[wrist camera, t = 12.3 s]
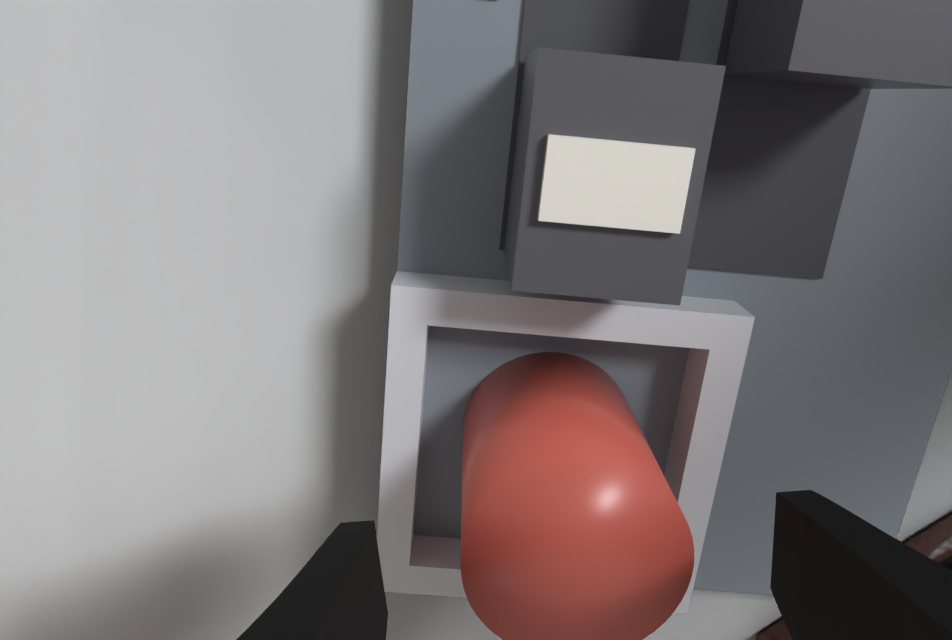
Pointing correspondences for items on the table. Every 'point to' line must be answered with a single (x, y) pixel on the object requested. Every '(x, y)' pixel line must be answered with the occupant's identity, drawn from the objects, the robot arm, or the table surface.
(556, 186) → the block
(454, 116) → the breaker panel
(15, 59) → the table surface
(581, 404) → the cap
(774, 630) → the letter holder
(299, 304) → the table surface
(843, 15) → the block
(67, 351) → the table surface
